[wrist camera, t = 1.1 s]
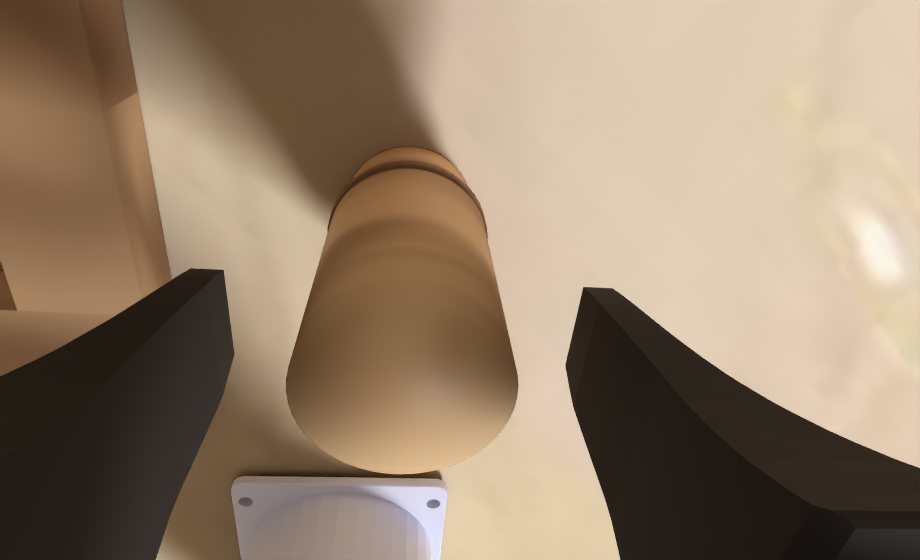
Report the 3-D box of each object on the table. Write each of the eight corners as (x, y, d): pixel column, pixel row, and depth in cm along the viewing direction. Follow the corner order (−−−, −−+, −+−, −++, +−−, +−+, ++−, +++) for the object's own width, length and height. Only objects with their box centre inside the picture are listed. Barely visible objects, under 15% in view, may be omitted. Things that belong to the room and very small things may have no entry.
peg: (472, 272, 18) (504, 477, 12) (338, 265, 18) (289, 474, 11) (487, 143, 16) (538, 300, 10) (336, 132, 16) (274, 288, 9)
